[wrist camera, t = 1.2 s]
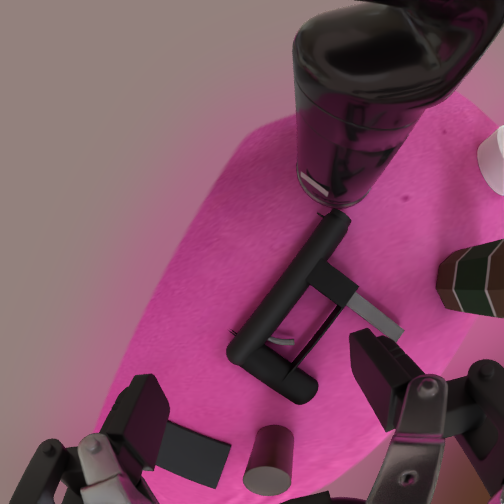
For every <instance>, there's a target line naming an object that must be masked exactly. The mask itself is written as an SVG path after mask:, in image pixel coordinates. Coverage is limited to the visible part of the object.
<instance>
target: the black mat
mask: <svg viewBox="0 0 504 504" xmlns="http://www.w3.org/2000/svg"><path fill="white" fill-rule="evenodd" d="M230 448H231V445H230V444H227V443H224V442H221V441H218V440H215V439H212V438H209V437H207V436H204V435H201V434H199V433H196V432H194V431H191V430H189V429H186V428H184V427H182V426H179V425H177V424H175V423H172V422H170V421H167V424H166V428H165V431H164V435H163V438H162V442H161V446H160V449H159V453H158V457H157V461H156V464H155V465H157V466H159V467H161V468H163V469H166V470H168V471H170V472H172V473H174V474H177V475H179V476H182V477H184V478H186V479H189V480H191V481H194V482H197V483H199V484H202V485H205V486H207V487H210V488H213V489H216V487H217V484H218V481H219V479H220V476H221V473H222V470H223V468H224V465H225V462H226V459H227V457H228V454H229V451H230Z"/></svg>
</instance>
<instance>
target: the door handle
mask: <svg viewBox="0 0 504 504" xmlns="http://www.w3.org/2000/svg"><path fill="white" fill-rule="evenodd" d="M317 214H318V215H320V214H319V213H317ZM320 216H321V217H323V219H322V220H321V222H320V223H319V225H318V226H317V228H316V229H315V230H314V232H313V233H312V235H311V236H310V237H309V239H308V240H307V242H306V243H305V244H304V246H303V247H302V248H301V250H300V251H299V253H298V254H297V255H296V257H295V258H294V259H293V261H292V262H291V264H290V265H289V266H288V268H287V269H286V270H285V272H284V273H283V274H282V276H281V277H280V278H279V280H278V281H277V282H276V284H275V285H274V286H273V288H272V289H271V290H270V292H269V293H268V294H267V296H266V297H265V298H264V300H263V301H262V302H261V304H260V305H259V306H258V308H257V309H256V310H255V311H254V313H253V314H252V315H251V317H250V318H249V319H248V320H247V322H246V323H245V324H244V326H243V327H242V328H241V329H240V331H239V332H238V333H236V332H234V331H233V330H232V331H233V332H234V333H235V334H236V335H235V334H234V333H232V332H231V331H230V332H231V333H232V334H233V335H234V336H235V337H234V338H233V340H232V341H231V342H230V343H229V345H228V346H227V349H226V355H227V358H228V359H229V361H230V362H231V363H233V364H235V365H239V366H240V367H242V368H243V369H244V370H246V371H247V372H249V373H250V374H251V375H253V376H254V377H256V378H257V379H259V380H260V381H261V382H263V383H264V384H266V385H267V386H269V387H270V388H272V389H273V390H275V391H276V392H278V393H279V394H281V395H282V396H284V397H285V398H287V399H289V400H290V401H292V402H293V403H295V404H297V405H302V404H305V403H307V402H309V401H310V400H311V399H312V398H313V397H314V396H315V395H316V393H317V391H318V382H317V380H316V379H314V378H313V377H311V376H310V375H308V374H307V373H305V372H304V371H302V370H301V369H299V368H298V367H297V366H298V365H299V364H300V363H301V362H302V360H303V359H304V358H305V357H306V356H307V354H308V353H309V352H310V351H311V350H312V348H313V347H314V346H315V345H316V343H317V342H318V341H319V340H320V338H321V337H322V336H323V335H324V333H325V332H326V331H327V329H328V328H329V327H330V326H331V324H332V323H333V322H334V320H335V319H336V318H337V316H338V315H339V314H340V312H341V311H342V310H343V308H344V307H345V306H346V305H347V306H348V307H349V308H351V309H352V310H353V311H354V312H356V313H357V314H358V315H360V316H361V317H362V318H364V319H365V320H366V321H368V322H369V323H370V324H372V325H373V326H374V327H376V328H377V329H378V330H379V331H381V332H382V333H383V334H385V335H386V336H387V337H389V338H390V339H392V340H394V341H395V342H397V341H398V339H399V338H400V336H401V335H402V333H403V332H404V331H405V330H403V329H402V328H401V327H400V326H398V325H397V324H396V323H395V322H393V321H392V320H391V319H390V318H388V317H387V316H386V315H385V314H383V313H382V312H381V311H379V310H378V309H377V308H376V307H374V306H373V305H372V304H371V303H369V302H368V301H367V300H365V299H364V298H363V297H362V296H360V295H359V294H358V293H356V290H357V289H358V287H359V286H358V285H357V284H355V283H354V282H353V281H351V280H350V279H349V278H347V277H346V276H345V275H344V274H342V273H341V272H340V271H338V270H337V269H336V268H334V267H333V266H332V265H330V264H329V263H328V262H327V260H328V259H329V258H330V256H331V255H332V253H333V252H334V251H335V249H336V248H337V246H338V245H339V243H340V242H341V240H342V239H343V237H344V236H345V234H346V233H347V231H348V226H349V225H350V223H351V219H350V218H349V217H348V216H347V215H346V214H345V213H343V212H342V211H340V210H338V209H336V208H333V209H332V210H331V212H330V213H328V214H327V215H325V216H323V215H320ZM309 285H311V286H313V287H314V288H315V289H317V290H318V291H319V292H321V293H322V294H323V295H325V296H326V297H327V298H329V299H330V300H331V301H333V302H334V303H335V304H337V306H336V307H335V309H334V310H333V311H332V313H331V314H330V315H329V317H328V318H327V319H326V321H325V322H324V323H323V325H322V326H321V327H320V328H319V330H318V331H317V332H316V334H315V335H314V336H313V337H312V339H311V340H310V341H309V342H308V344H307V345H306V346H305V347H304V348H303V350H302V351H301V352H300V353H299V355H298V356H297V357H296V358H295V359H294V360H293V362H292V363H291V362H289V361H288V360H286V359H285V358H283V357H282V356H281V355H279V354H278V353H276V352H275V351H274V350H272V349H271V348H269V347H268V346H267V345H265V342H266V341H267V340H268V341H270V342H272V343H276V344H280V345H294V339H278V338H274V337H271V335H272V334H273V332H274V331H275V330H276V329H277V327H278V326H279V325H280V324H281V322H282V321H283V320H284V318H285V317H286V316H287V315H288V313H289V312H290V311H291V309H292V308H293V307H294V305H295V304H296V303H297V301H298V300H299V299H300V298H301V296H302V295H303V294H304V292H305V291H306V289H307V288H308V287H309ZM229 329H230V328H229Z"/></svg>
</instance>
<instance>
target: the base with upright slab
mask: <svg viewBox="0 0 504 504" xmlns="http://www.w3.org/2000/svg"><path fill="white" fill-rule="evenodd" d="M477 160H478V165H479V168H480V171H481V173H482V175H483V177H484V179H485V181H486V182H487V184H488V185H489V186H490V187H491V188H492V189H493V191H495V192H496V193H498V194H499V195H502V196H504V125H502V126H500V127H499V128H498V129H497V130H496V131H495V132H493V133H492V134H491V135H490V136H489V137H488V138H487V139H486V140H484V141H483V142H482V143H481V144H480V146H479V147H478V150H477Z"/></svg>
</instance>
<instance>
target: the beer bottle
mask: <svg viewBox="0 0 504 504" xmlns="http://www.w3.org/2000/svg"><path fill="white" fill-rule="evenodd" d="M436 290H437V292H438V294H439V296H440V298H441V300H442V302H443V304H444V306H445V308H447V309H450V310H455V311H460V312H466V313H472V314H478V315H484V316H491V317H498V318H504V239H501V240H497V241H494V242H490V243H486V244H482V245H478V246H473V247H469V248H465V249H461V250H458V251H455V252H453V253H452V254H451V255H450V256H449V257H448V258H447V259H446V260H445V261H444V262H443V263H442V264H440V266H439V272H438V279H437V285H436Z"/></svg>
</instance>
